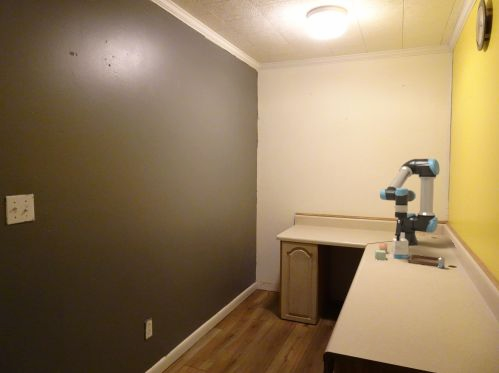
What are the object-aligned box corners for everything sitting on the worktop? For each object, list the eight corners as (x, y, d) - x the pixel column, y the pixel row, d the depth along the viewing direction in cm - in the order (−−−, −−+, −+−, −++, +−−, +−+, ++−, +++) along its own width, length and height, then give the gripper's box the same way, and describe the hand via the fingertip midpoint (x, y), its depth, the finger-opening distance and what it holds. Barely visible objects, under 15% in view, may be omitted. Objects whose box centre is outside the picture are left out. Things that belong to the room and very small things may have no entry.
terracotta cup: (380, 251, 250) (380, 243, 250) (387, 252, 247) (388, 243, 247) (378, 253, 246) (378, 244, 245) (386, 254, 243) (386, 245, 243)
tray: (412, 257, 233) (412, 254, 233) (440, 261, 225) (440, 258, 225) (408, 262, 221) (408, 259, 221) (437, 266, 212) (437, 263, 212)
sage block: (374, 257, 235) (375, 249, 234) (384, 257, 233) (384, 250, 233) (375, 259, 229) (375, 252, 229) (385, 260, 228) (385, 252, 227)
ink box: (408, 259, 230) (409, 238, 229) (394, 258, 231) (395, 238, 231) (405, 255, 238) (405, 235, 237) (392, 255, 240) (392, 235, 239)
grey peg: (437, 266, 213) (438, 256, 212) (444, 267, 211) (445, 257, 210) (437, 268, 210) (437, 258, 209) (444, 269, 208) (444, 258, 207)
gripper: (398, 209, 245) (398, 240, 247) (390, 213, 225) (390, 246, 226) (410, 210, 241) (409, 241, 242) (403, 214, 220) (402, 248, 222)
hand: (400, 243), depth 234 cm, fingers open, 13 cm apart
